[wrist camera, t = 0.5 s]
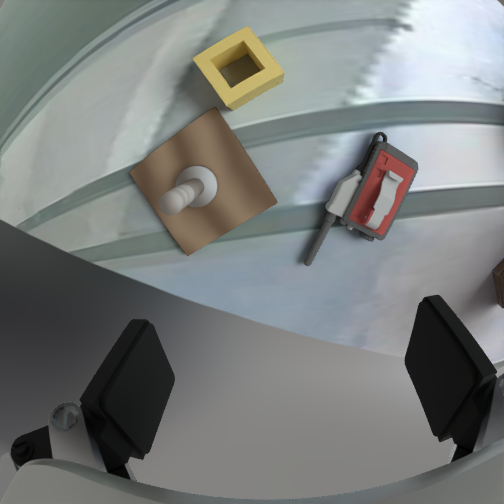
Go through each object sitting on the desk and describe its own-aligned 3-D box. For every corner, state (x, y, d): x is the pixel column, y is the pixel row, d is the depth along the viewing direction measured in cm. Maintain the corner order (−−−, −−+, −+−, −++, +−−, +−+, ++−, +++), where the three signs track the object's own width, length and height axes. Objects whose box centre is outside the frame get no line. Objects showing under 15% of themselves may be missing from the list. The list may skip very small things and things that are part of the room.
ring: (251, 40, 26) (247, 25, 21) (282, 82, 28) (284, 72, 23) (203, 68, 28) (192, 58, 23) (233, 110, 30) (226, 105, 25)
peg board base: (216, 107, 30) (190, 94, 20) (277, 201, 34) (278, 228, 24) (132, 171, 34) (84, 186, 23) (189, 253, 38) (161, 294, 28)
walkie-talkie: (361, 122, 29) (298, 258, 37) (373, 121, 25) (300, 273, 33) (415, 156, 30) (351, 280, 38) (431, 159, 26) (359, 296, 34)
